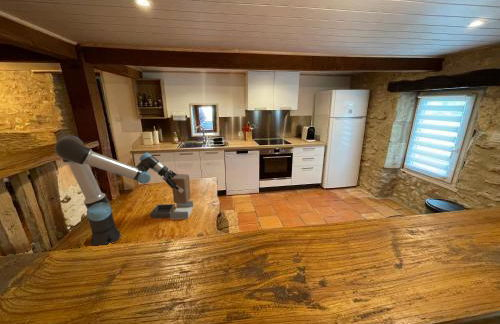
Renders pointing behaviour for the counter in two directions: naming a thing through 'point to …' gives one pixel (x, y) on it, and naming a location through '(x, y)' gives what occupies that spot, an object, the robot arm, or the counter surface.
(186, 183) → the wooden block
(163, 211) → the box
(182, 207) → the walled bay
